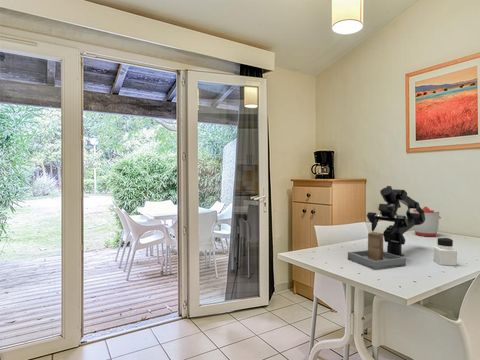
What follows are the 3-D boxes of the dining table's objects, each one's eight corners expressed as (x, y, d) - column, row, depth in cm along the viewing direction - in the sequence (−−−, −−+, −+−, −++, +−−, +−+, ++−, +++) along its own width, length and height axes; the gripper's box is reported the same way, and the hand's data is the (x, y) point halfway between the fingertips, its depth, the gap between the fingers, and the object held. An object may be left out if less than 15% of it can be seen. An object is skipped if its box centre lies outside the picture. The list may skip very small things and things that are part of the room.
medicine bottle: (456, 265, 142) (457, 240, 142) (439, 265, 143) (440, 239, 143) (449, 261, 149) (449, 237, 148) (433, 260, 150) (433, 236, 150)
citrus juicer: (446, 237, 204) (447, 207, 204) (420, 237, 205) (421, 207, 204) (432, 233, 220) (432, 205, 219) (408, 233, 220) (408, 205, 220)
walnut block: (372, 258, 151) (373, 231, 151) (383, 260, 147) (383, 233, 147) (367, 259, 148) (368, 233, 147) (378, 262, 144) (378, 234, 144)
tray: (376, 255, 159) (376, 249, 159) (405, 265, 142) (405, 258, 142) (347, 259, 153) (347, 252, 153) (374, 269, 136) (374, 261, 136)
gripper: (368, 196, 161) (357, 219, 154) (406, 199, 148) (396, 224, 140) (375, 210, 167) (365, 233, 160) (412, 214, 153) (403, 239, 146)
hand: (381, 232), depth 151 cm, fingers open, 9 cm apart
